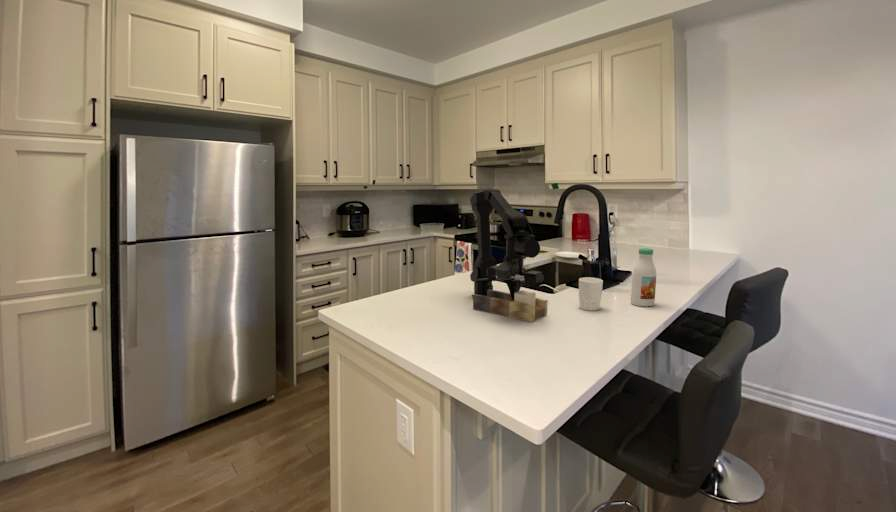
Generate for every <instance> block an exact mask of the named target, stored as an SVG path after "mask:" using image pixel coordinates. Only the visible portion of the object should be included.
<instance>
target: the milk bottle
mask: <svg viewBox="0 0 896 512" xmlns="http://www.w3.org/2000/svg"><path fill="white" fill-rule="evenodd" d="M653 256H654V249H653V248H647V247H645V248H643V247H641V248H638V259H637V261H636V264H635V265H634V267H633V269H632V277H631V289H630V290H631V291H630V292H631V293H630V303H631V304H632V305H633V306H636V307H637V306H638V307H643V306H644V307H645V308H646V307H648V306H650V307H653V306H655V303H656V302H655V301H656V290H657V289H656V286H657V270H656V267H655V263H654V261H653ZM648 308H649V307H648Z"/></svg>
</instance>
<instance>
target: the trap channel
mask: <svg viewBox="0 0 896 512" xmlns="http://www.w3.org/2000/svg"><path fill="white" fill-rule="evenodd" d="M472 295H473V297H472V304H473V305H472V309H473V310H477V311H481V312H484V313H491V314H493V315H494V314H495V315H498V314H499V315H500V316H503V317H507V318H512V319H518V320H522V321H526V322H531V323H533V322H535V321H537V320H539V319H541V318H543V317H545V316H547V315H548V303H549V302H548V301H549V300H548V299H545V298H540V297H536V300H535V305H530V304H525V303H520V302H514V299H512V297H511V294H510V292H505V291H501V290H496V289H495V290H494V289H493V290H490V289H489V290H487V296H483V295H478V294H475V295H474V294H472Z"/></svg>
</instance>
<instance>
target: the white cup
mask: <svg viewBox="0 0 896 512" xmlns="http://www.w3.org/2000/svg"><path fill="white" fill-rule="evenodd" d="M603 284H604V280H603V279H601V278H597V277H588V276H587V277H579V279H578V300H579V301H578V302H579V308H580V309H581V310H583V311H584V310H585V311H598V310H600V309H601V308H600V307H601V301H602V294H603Z"/></svg>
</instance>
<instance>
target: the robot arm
mask: <svg viewBox="0 0 896 512" xmlns="http://www.w3.org/2000/svg"><path fill="white" fill-rule="evenodd" d="M469 202H470V206H471V210H472V212H473V214H474V215H475V218H476V232H477V248H478V249H477V252H478V253H477V254H478V255H477V257H476V259H475V260H474V268H473V269H472V271H471V273H470V277H469V278H470V281H471V282H473V286H474V288H473V290H474V291H473V294H472V295H471V297H472V296H473V295H475V294H478V295H483V296H487V290H489V289H490V290H494V285H493V282H495V281H497V279H500V280H501V281H503V282H504V283H505V284H506V286H507V289H508V291H509V293H510V294H511V297H512V299H514V293H516V292H519V291H521V288H522V286H523V285H524V283H525V282H526V283H531V284H537V283H540V282H543V281H544V278H545V277H544V275H545V274H544V273H543V272H542V271H538V270H530V271H527V272H525V271H526V267H524V260H526V259H527V258H530V259H531V258H532V259H533V258H536V257H538V255H539V254H540V251H541V245H540V243H539V241H538V240H536V235H534V233H533V229H532V227H531V225H530V222H529V219H528V218H527V216H526V215H525V214H524V213H523V212H522V211H519V210H516V209H514V208H513V207H512V205H511V204H510V203H509V202H508V201H507V199H506V198H505V197H504V196H503V194H502V193H501V190H500V189H498V188H488V189H485V190H484V191H479V192H474V193H473V194H472V195H471V197H470V200H469ZM493 210H495V211H496V212H497V214H498V215H499V217H500V218H501V226H502V228H503V229H504V231H505V232H506V234H504V236H503V238H504V239H506V241H505V242H506V244H505V247H506V249H505V251H506V252H505V256H503V261H502V262H501V263H499V265H497V264H498V261H497V259H496V258H494V257H493V255H492V243H491V241H492V240H491V221H490V217H491V215H492V213H493Z"/></svg>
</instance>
